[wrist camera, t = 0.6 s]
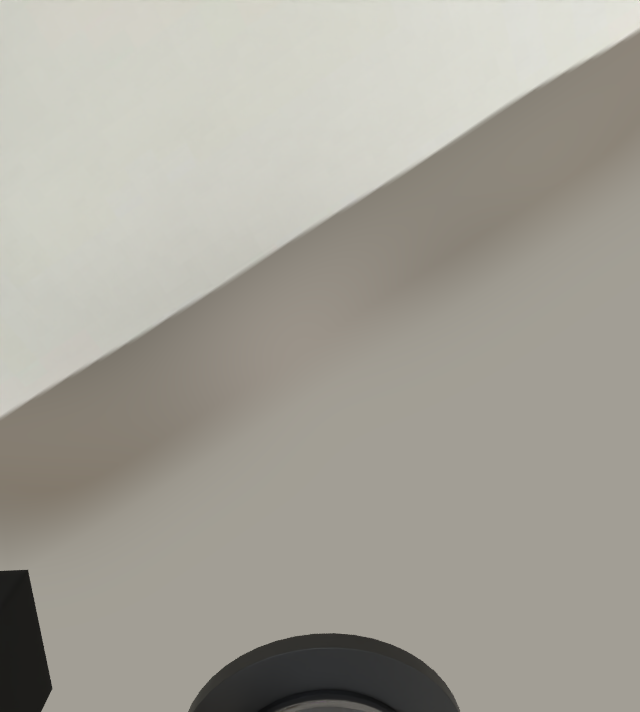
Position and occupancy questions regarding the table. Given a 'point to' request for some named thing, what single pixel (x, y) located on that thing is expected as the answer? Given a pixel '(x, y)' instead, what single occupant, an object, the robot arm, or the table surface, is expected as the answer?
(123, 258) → the table surface
